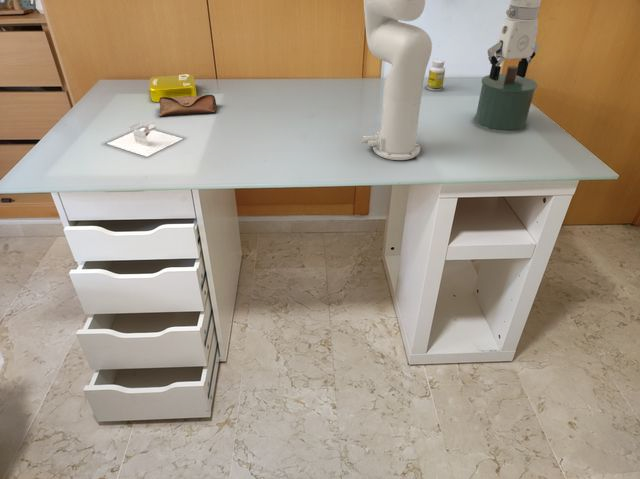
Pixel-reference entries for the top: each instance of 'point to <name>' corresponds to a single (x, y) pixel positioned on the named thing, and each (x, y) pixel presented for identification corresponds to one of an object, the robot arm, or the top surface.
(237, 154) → the top surface
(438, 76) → the supplement bottle
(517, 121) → the tin
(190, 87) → the yellow plastic box
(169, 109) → the sunglasses case
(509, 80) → the lid
